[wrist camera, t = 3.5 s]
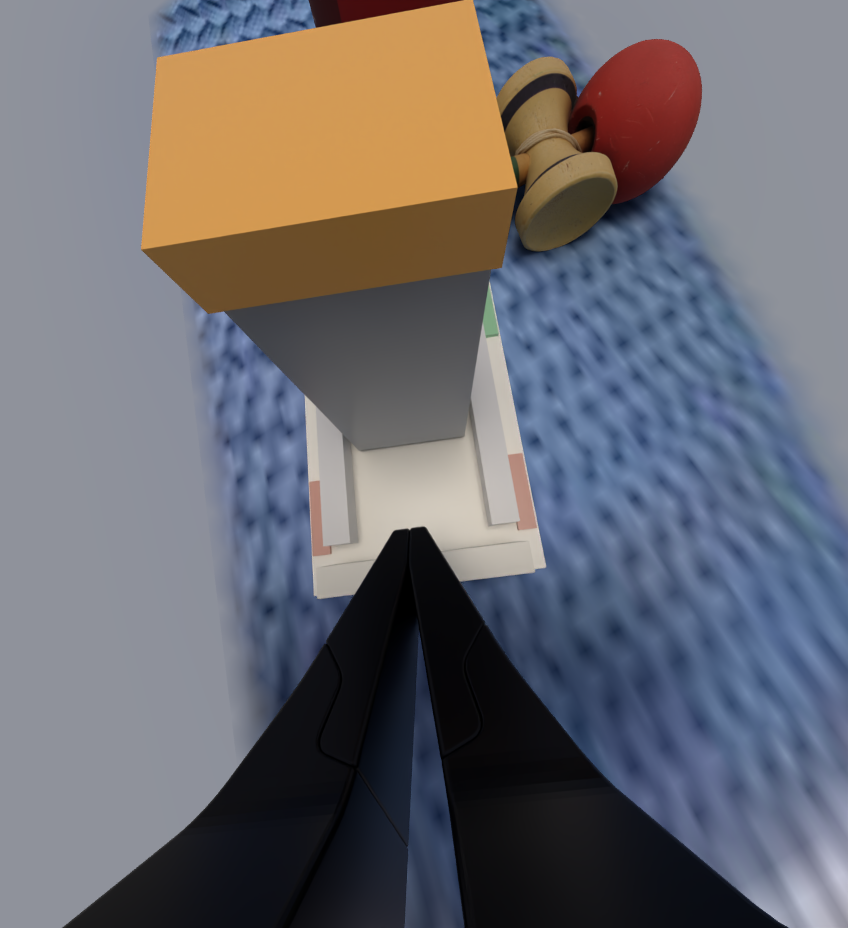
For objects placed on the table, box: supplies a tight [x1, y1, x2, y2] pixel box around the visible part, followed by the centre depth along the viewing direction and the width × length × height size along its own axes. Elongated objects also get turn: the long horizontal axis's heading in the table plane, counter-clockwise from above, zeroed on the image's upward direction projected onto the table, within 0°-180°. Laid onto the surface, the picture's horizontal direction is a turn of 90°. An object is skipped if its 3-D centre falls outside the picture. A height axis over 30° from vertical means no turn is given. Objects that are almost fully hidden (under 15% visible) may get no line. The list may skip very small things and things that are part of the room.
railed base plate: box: [305, 281, 546, 599], centre depth 15 cm, size 16×9×5 cm, turn 7°
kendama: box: [496, 39, 702, 252], centre depth 18 cm, size 8×6×18 cm
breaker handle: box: [141, 0, 518, 451], centre depth 9 cm, size 3×5×10 cm
